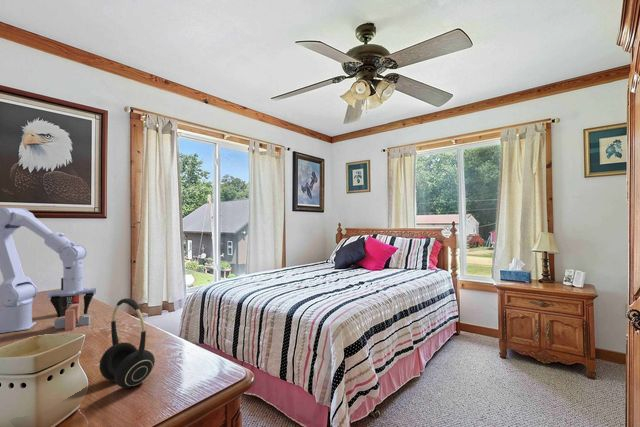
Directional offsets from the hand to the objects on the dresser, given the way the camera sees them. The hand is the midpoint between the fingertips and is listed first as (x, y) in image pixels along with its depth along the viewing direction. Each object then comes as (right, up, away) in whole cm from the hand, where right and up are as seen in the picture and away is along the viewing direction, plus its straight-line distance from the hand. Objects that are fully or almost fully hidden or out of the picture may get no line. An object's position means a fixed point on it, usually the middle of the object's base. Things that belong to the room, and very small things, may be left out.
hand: (72, 315), depth 115 cm
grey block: (0, -4, 0) cm, 4 cm away
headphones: (+46, -3, -41) cm, 61 cm away
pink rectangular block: (0, -4, 0) cm, 4 cm away
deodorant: (-14, -5, +15) cm, 21 cm away
